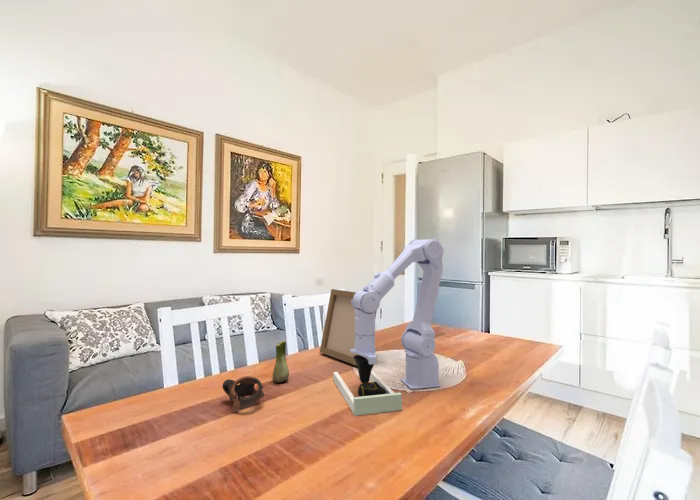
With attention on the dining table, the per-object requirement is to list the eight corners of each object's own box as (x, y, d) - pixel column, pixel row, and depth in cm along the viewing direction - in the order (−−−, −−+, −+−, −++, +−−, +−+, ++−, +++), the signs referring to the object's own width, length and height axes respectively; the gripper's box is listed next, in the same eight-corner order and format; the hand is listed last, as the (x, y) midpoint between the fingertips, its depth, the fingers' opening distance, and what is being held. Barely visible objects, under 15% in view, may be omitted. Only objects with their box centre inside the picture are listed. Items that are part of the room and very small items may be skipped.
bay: (371, 376, 113) (371, 364, 113) (401, 410, 90) (401, 394, 90) (333, 380, 110) (333, 367, 110) (354, 415, 86) (354, 399, 86)
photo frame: (358, 369, 120) (359, 295, 120) (319, 354, 136) (320, 289, 136) (387, 360, 130) (388, 292, 130) (348, 347, 146) (348, 287, 146)
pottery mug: (270, 399, 97) (271, 378, 93) (252, 429, 89) (252, 408, 85) (231, 384, 99) (230, 363, 95) (210, 412, 91) (208, 391, 87)
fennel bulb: (283, 376, 112) (283, 339, 112) (293, 380, 109) (293, 341, 109) (268, 381, 108) (268, 342, 108) (278, 386, 105) (279, 345, 105)
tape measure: (387, 403, 94) (387, 389, 94) (362, 406, 92) (363, 391, 92) (377, 393, 100) (378, 379, 100) (354, 395, 98) (355, 382, 98)
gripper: (344, 328, 105) (344, 374, 105) (358, 340, 91) (358, 393, 91) (367, 327, 107) (366, 372, 107) (384, 339, 93) (383, 390, 93)
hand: (364, 381), depth 99 cm, fingers closed
